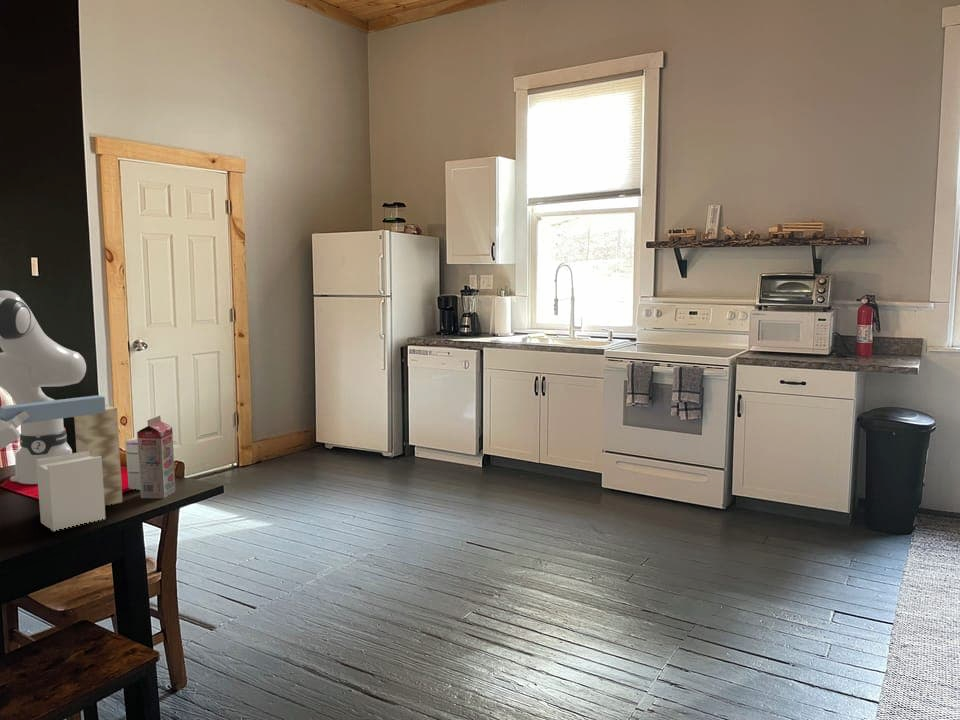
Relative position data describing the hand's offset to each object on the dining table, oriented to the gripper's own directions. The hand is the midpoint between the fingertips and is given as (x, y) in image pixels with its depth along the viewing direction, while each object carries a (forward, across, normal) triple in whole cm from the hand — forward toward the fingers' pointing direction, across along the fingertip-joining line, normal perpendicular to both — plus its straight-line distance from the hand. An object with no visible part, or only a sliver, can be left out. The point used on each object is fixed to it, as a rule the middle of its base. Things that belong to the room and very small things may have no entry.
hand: (23, 411), depth 173 cm
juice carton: (+14, +6, +42) cm, 45 cm away
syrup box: (+14, +16, +42) cm, 47 cm away
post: (+3, +10, +35) cm, 37 cm away
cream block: (-6, 0, +30) cm, 31 cm away
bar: (+5, 0, +6) cm, 7 cm away
